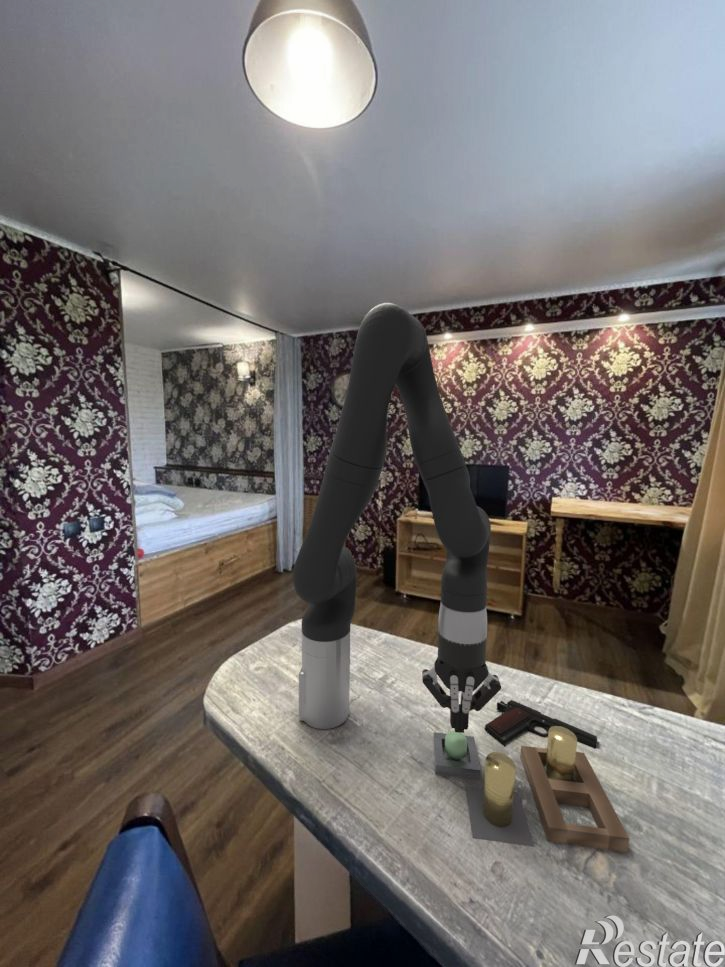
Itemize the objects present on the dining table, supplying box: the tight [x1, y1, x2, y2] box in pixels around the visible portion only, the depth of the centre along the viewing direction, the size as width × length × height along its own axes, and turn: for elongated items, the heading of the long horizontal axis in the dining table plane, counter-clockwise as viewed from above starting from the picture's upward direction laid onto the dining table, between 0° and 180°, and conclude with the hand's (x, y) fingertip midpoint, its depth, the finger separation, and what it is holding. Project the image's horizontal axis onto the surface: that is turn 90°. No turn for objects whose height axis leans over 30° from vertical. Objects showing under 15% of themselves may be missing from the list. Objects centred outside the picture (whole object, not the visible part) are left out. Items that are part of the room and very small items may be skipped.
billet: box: [483, 752, 516, 827], centre depth 56 cm, size 4×4×8 cm
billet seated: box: [544, 726, 578, 782], centre depth 62 cm, size 4×4×8 cm
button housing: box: [432, 731, 482, 781], centre depth 66 cm, size 7×7×2 cm
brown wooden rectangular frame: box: [519, 745, 630, 853], centre depth 59 cm, size 10×14×2 cm
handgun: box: [484, 699, 598, 749], centre depth 72 cm, size 2×17×12 cm
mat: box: [464, 785, 535, 847], centre depth 57 cm, size 8×8×1 cm
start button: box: [445, 730, 467, 759], centre depth 66 cm, size 4×4×2 cm
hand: (459, 729), depth 65 cm, fingers closed
